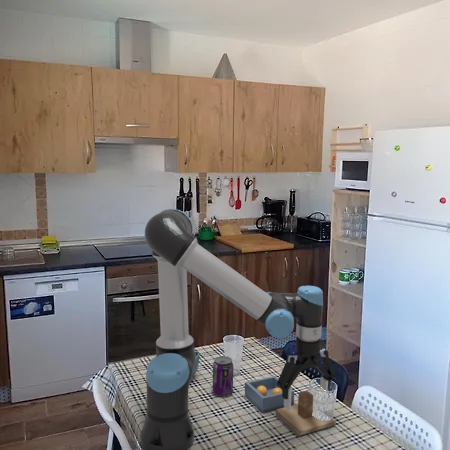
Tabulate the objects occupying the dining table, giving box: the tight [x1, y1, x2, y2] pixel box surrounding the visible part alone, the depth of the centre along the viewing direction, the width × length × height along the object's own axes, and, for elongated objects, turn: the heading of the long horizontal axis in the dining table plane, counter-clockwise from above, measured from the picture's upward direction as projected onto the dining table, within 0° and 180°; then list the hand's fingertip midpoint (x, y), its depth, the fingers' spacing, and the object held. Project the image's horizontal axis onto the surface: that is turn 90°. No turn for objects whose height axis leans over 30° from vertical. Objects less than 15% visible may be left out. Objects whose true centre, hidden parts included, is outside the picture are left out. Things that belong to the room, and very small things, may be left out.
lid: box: [275, 390, 336, 436], centre depth 139 cm, size 13×13×8 cm
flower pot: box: [190, 350, 201, 383], centre depth 165 cm, size 9×9×9 cm
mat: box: [275, 413, 336, 437], centre depth 140 cm, size 14×12×1 cm
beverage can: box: [211, 355, 234, 397], centre depth 155 cm, size 7×7×12 cm
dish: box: [244, 375, 295, 414], centre depth 151 cm, size 12×12×5 cm
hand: (305, 403), depth 139 cm, fingers open, 13 cm apart
